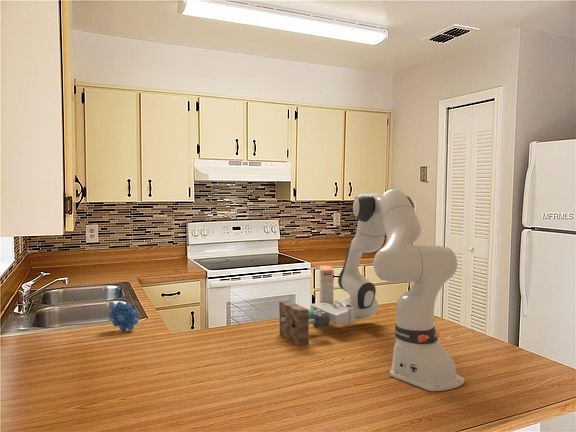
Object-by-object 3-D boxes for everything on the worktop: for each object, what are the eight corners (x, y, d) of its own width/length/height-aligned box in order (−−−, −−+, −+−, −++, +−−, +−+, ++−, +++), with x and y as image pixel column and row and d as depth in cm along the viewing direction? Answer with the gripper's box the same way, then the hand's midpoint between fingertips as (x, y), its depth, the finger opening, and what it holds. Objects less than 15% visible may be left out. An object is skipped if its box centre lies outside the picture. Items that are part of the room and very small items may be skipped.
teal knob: (314, 322, 183) (314, 310, 183) (285, 326, 177) (285, 314, 177) (309, 319, 187) (309, 308, 187) (279, 323, 182) (279, 312, 181)
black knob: (329, 326, 177) (329, 314, 177) (299, 331, 171) (299, 319, 171) (323, 323, 181) (323, 312, 181) (293, 328, 175) (293, 316, 175)
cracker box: (334, 316, 208) (334, 270, 207) (320, 316, 208) (320, 270, 207) (332, 308, 222) (331, 264, 221) (319, 308, 222) (319, 264, 221)
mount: (308, 344, 171) (308, 309, 170) (298, 346, 169) (298, 310, 169) (288, 332, 185) (288, 300, 185) (279, 334, 184) (279, 301, 183)
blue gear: (105, 334, 186) (104, 304, 186) (111, 329, 193) (110, 300, 192) (134, 333, 186) (133, 303, 186) (140, 328, 193) (139, 299, 192)
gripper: (328, 298, 200) (299, 301, 194) (355, 308, 182) (325, 313, 176) (328, 312, 201) (299, 316, 195) (355, 324, 183) (325, 329, 176)
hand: (312, 315), depth 185 cm, fingers closed, pressing on teal knob
